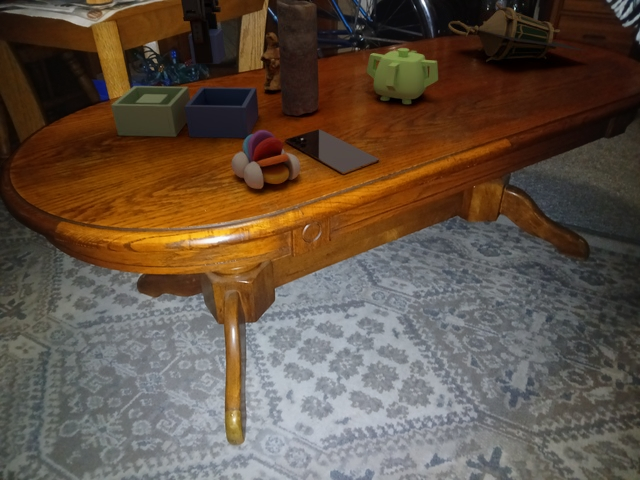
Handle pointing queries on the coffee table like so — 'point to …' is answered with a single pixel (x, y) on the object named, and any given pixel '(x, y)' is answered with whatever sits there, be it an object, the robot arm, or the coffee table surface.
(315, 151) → the smartphone
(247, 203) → the coffee table surface
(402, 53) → the green lidded pot
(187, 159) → the coffee table surface
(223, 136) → the blue bin
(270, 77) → the figurine
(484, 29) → the lantern
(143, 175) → the coffee table surface
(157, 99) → the green block
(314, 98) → the candle
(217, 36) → the blue block
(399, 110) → the coffee table surface
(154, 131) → the green bin
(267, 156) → the rainbow puzzle ball
